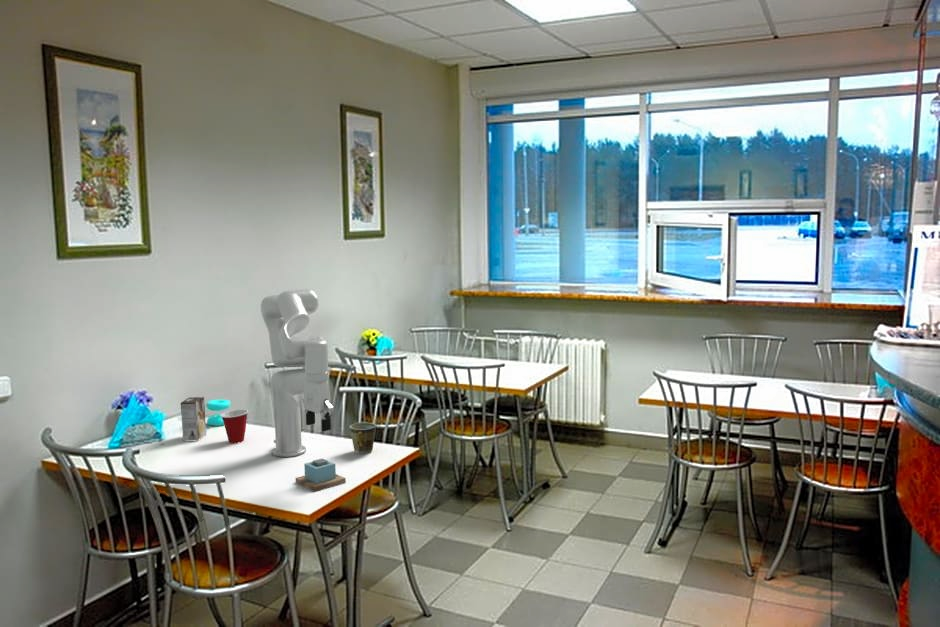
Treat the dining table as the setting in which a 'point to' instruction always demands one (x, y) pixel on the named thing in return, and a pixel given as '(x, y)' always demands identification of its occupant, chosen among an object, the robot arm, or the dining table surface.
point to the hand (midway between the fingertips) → (318, 427)
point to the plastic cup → (235, 424)
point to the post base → (321, 485)
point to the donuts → (217, 406)
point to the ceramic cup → (363, 437)
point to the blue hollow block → (320, 472)
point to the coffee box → (193, 418)
